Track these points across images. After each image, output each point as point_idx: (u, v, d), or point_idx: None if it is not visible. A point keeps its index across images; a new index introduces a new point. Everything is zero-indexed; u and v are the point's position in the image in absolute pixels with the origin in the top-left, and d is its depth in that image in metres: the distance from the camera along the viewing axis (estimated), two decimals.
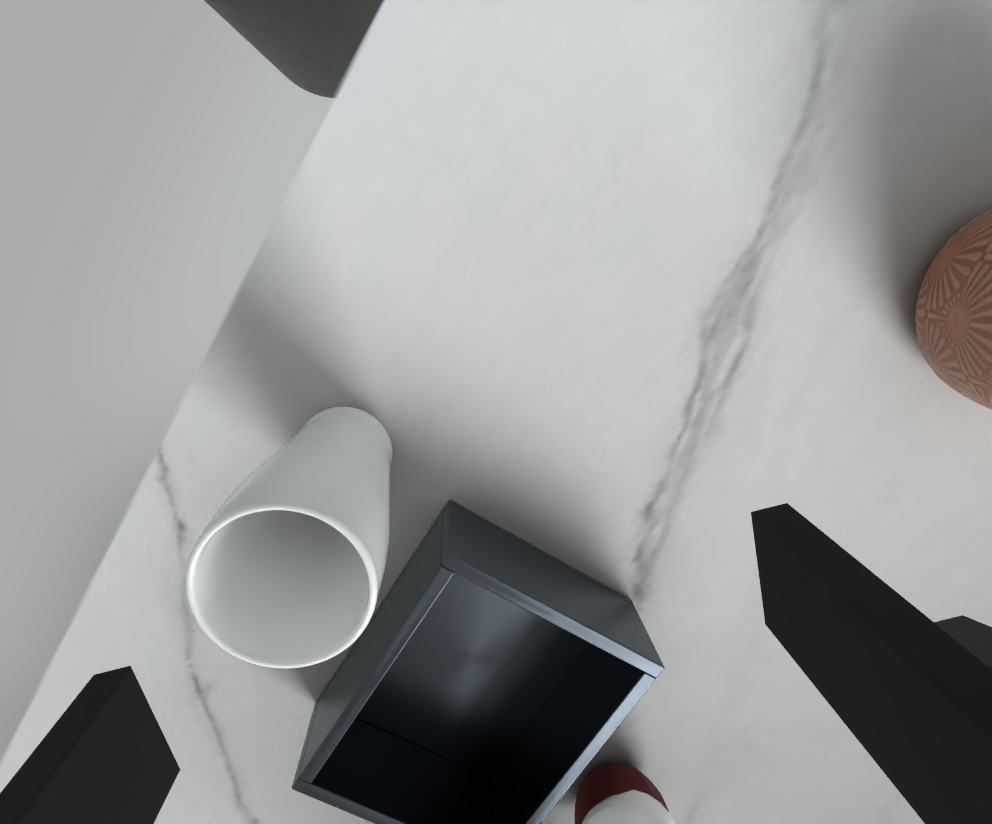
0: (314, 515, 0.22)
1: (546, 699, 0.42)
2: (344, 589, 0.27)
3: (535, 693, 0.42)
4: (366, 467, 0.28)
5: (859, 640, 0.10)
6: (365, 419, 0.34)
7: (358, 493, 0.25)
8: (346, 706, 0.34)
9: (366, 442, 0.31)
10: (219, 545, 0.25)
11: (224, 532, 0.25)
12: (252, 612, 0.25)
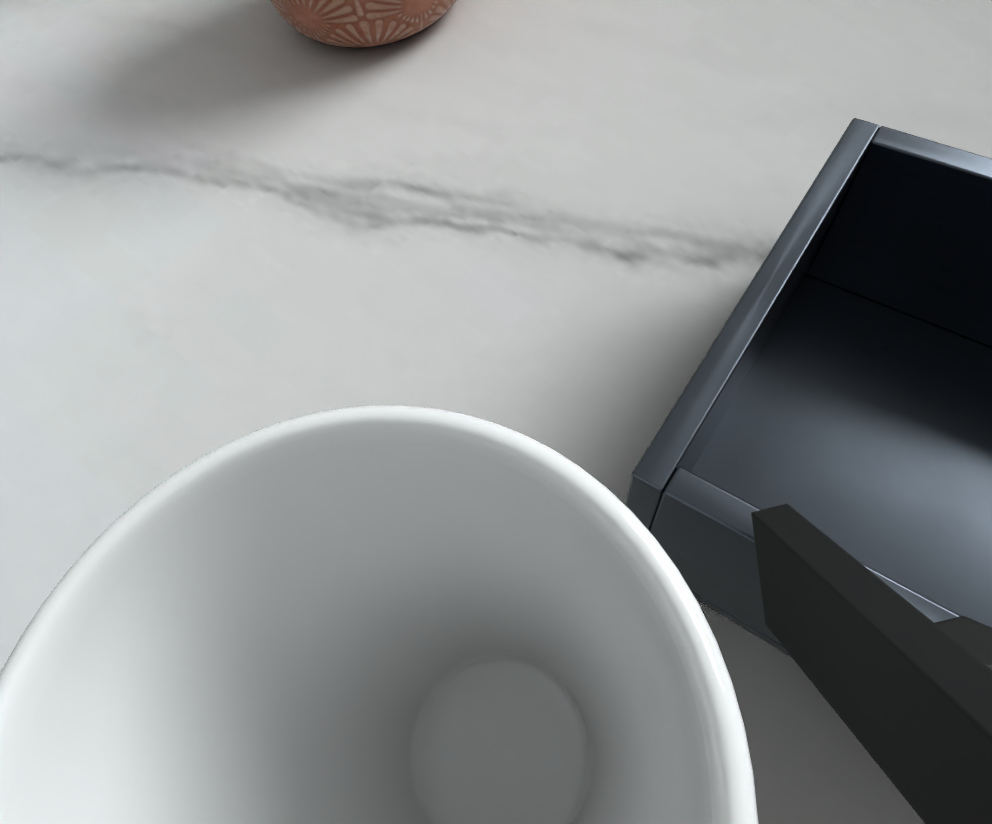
0: (61, 586, 0.06)
1: None
2: (627, 659, 0.09)
3: None
4: None
5: (859, 640, 0.10)
6: None
7: None
8: None
9: None
10: None
11: None
12: None
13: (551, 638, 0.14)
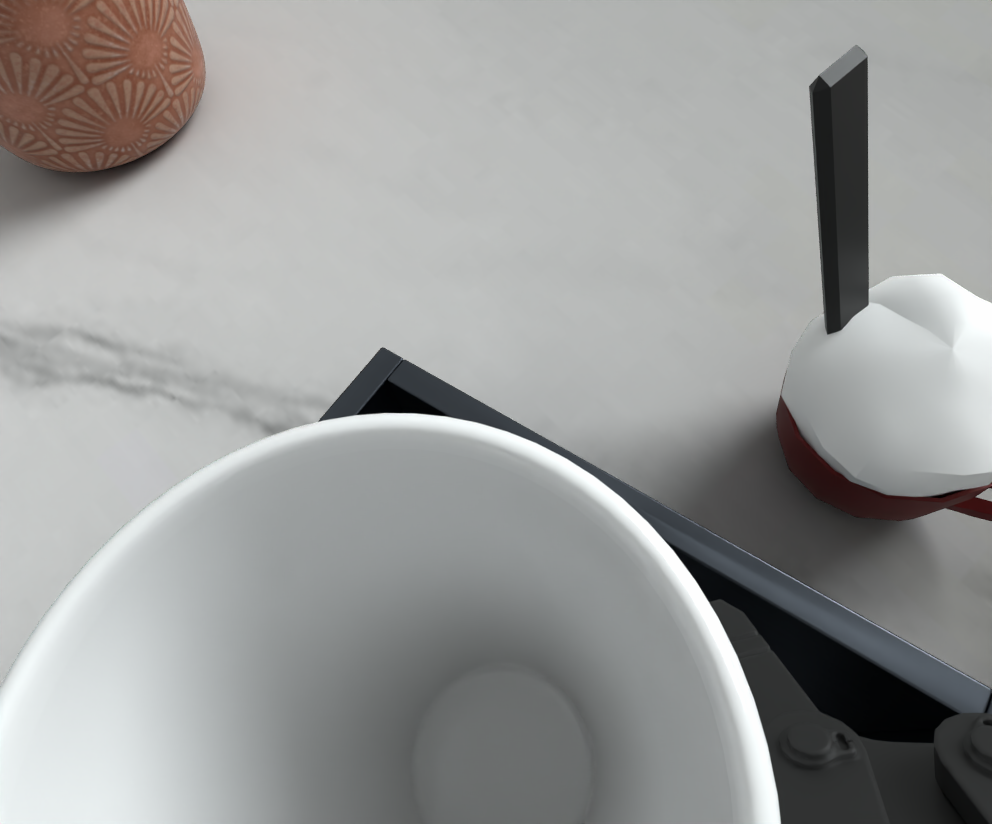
0: (62, 599, 0.06)
1: None
2: (636, 671, 0.09)
3: None
4: None
5: None
6: None
7: None
8: None
9: None
10: None
11: None
12: None
13: (555, 648, 0.14)
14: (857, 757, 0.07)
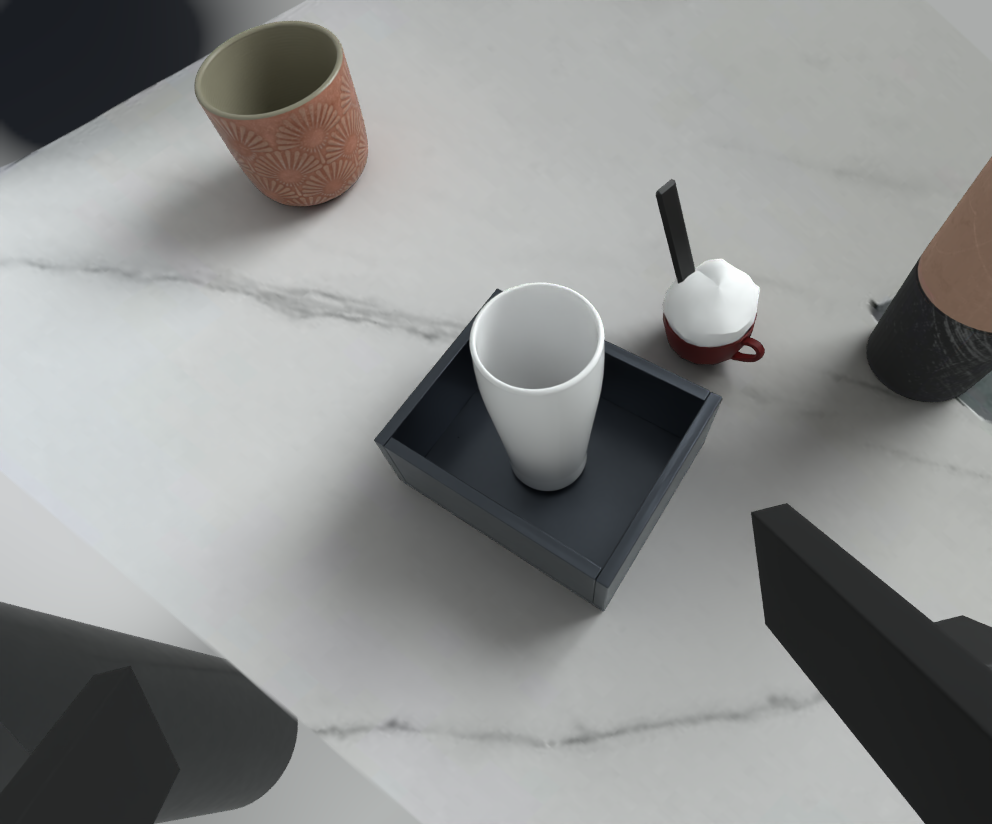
0: (479, 314, 0.32)
1: None
2: (589, 358, 0.35)
3: None
4: (504, 361, 0.38)
5: (859, 640, 0.10)
6: None
7: None
8: (512, 527, 0.36)
9: None
10: None
11: None
12: None
13: None
14: None
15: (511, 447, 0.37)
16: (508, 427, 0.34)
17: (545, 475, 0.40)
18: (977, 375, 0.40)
